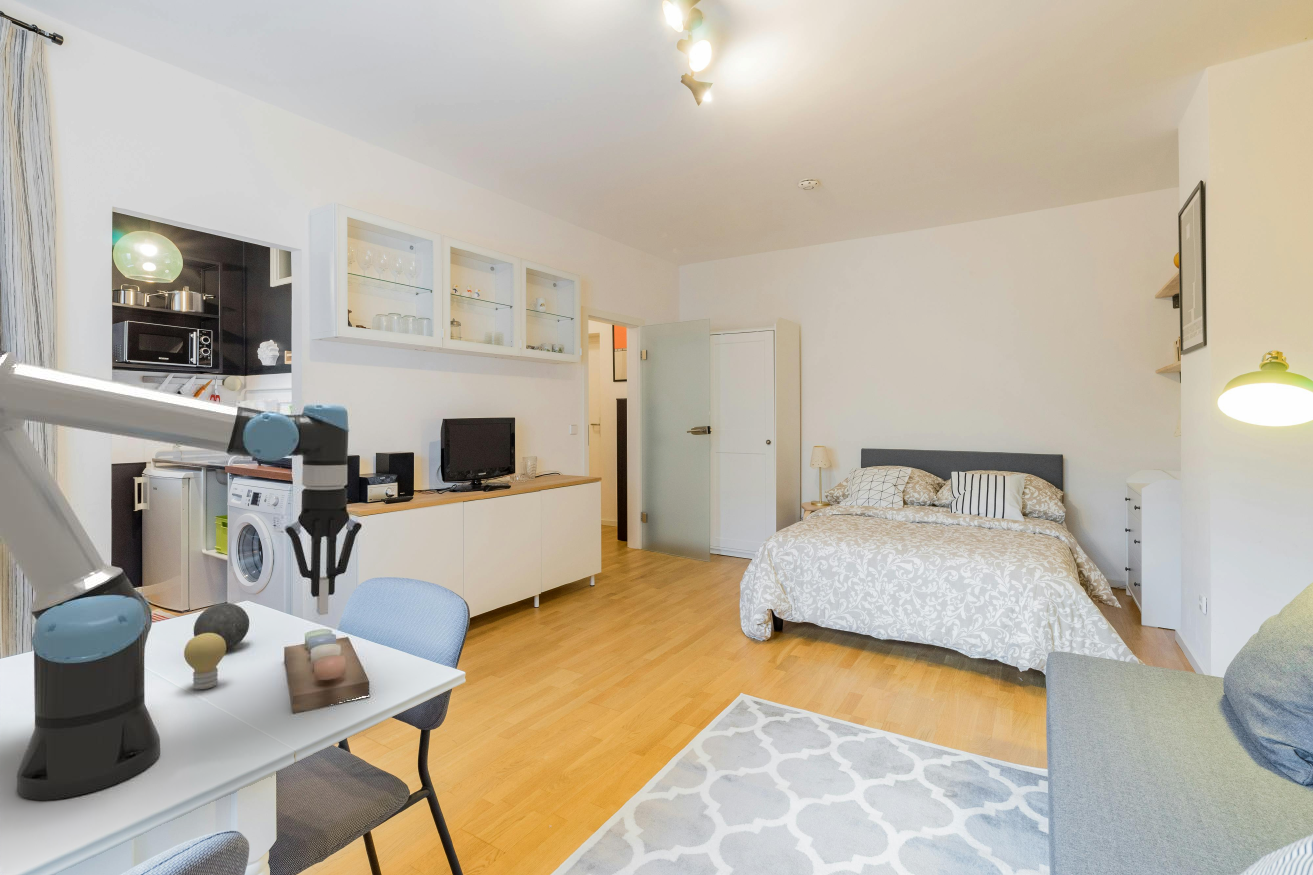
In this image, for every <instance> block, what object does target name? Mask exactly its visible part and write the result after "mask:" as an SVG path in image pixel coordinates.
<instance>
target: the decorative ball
mask: <svg viewBox="0 0 1313 875" xmlns="http://www.w3.org/2000/svg"><path fill="white" fill-rule="evenodd" d="M249 629H250V618H249V615H248V613H247V611H245V609H244V608H242V606H240V605H238V604H234V603H231V602H230V603H228V602H223V603H222V602H221V603H218V604H214V605H210V606H209V607H208V608H206V609H205V610H204V611H203V612H202V613H200V614H199V616H198V617H197V618H196V621H195V622H194V625H193V638H194V637H195V636H197V635H200V634H204V633H214V634H218V635H220V636H221V637H222V638H223V639H224V640H225V643H226V651H227V650H230V649H232V648H233V647H235V646H237V645H239V643H242V641H243V640H244V638H246V635H248V634H247V633H248V632H249Z"/></svg>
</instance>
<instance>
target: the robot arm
mask: <svg viewBox="0 0 1313 875" xmlns="http://www.w3.org/2000/svg"><path fill="white" fill-rule="evenodd" d="M302 410H303V411H302V412H301V414H283V413H279V412H276V411H266V410H265V411H264V410H261V409H255V408H250V407H246V406H245V407H244V406H238V405H235V404H231V403H225V402H220V401H215V400H211V399H205V398H201V397H196V396H192V395H186V394H180V393H175V392H171V391H165V390H160V389H156V388H149V387H147V386H141V385H136V384H132V383H130V384H129V383H126V382H121V381H115V380H111V379H105V378H101V377H96V376H91V375H87V374H81V373H76V372H71V371H66V370H61V369H56V368H52V367H46V366H41V365H38V364H37V365H36V364H33V363H32V364H31V363H26V362H23V361H21V360H20V359H19V358H18V357H17V356H16V355H15V354H14V353H13V352H11V351H5V350H0V540H1V541H2V542H3V544H4V545H5V547H6V548H7V550H8V552H9V554H11V555H10V556H12V558H13V560H14V561H15V563H16V564H17V566H18V567H19V568H20V570H21V572H22V574H23V575H24V576H25V578H26V580H27V581H28V583H29V584H30V586H31V588H32V590H33V591H34V592H35V598H34V600H33V602H32V603H31V606H30V607H29V611H30V612H31V614H32V615H33V617H34V619H35V620H36V621H35V624H34V630H33V633H32V636H31V645H32V649H33V671H34V672H33V674H34V675H33V677H34V678H33V680H34V682H33V684H34V686H33V687H34V698H33V699H34V730H33V732H32V735H31V737H30V740H29V742H28V745H27V747H26V749H25V752H24V755H23V757H22V760H21V762H20V765H19V768H18V770H17V773H16V792H17V793H18V795H19V796H20V797H23V798H25V799H29V800H37V801H38V800H39V801H46V800H47V801H49V800H50V801H51V800H58V799H66V798H72V797H77V796H81V795H85V794H89V793H93V792H96V791H99V790H103V789H106V788H108V787H111V786H113V785H114V786H115V785H117V784H118V783H121V782H123V781H126V780H128V779H130V778H132V777H134V776H136V775H138V774H140V773H142V772H143V771H145V770H146V769H148V768H149V767H150V766H152V765H153V764H154V763H155V762H156V761H157V760H158V758H159V756H161V755H160V754H161V737H160V734H159V733H158V730H157V727H156V725H155V724H154V722H153V719H152V717H151V715H150V712H149V710H148V707H147V706H146V703H145V701H146V700H145V698H146V697H145V696H146V695H145V689H146V688H145V652H146V651H145V650H146V644H147V640H148V637H149V633H150V631H151V628H152V624H153V614H152V608H151V605H150V603H149V601H148V600H147V598H146V597H145V596H144V595H143V594H142V593H141V592H139V591H138V590H137V589H135V588H134V586H133V584H132V583H131V581H130V579H129V578H128V577H127V574H126V573H125V572H124V570H123V569H122V567H119V566H118V567H117V566H113V565H110V564H107V563H105V561H104V560H103V558H102V557H101V555H100V553H99V552H98V550H97V548H96V547H95V545H94V543H93V542H92V540H91V539H90V536H89V535H88V533H87V532H86V530H85V527H84V526H83V525H82V523H81V522H80V520H79V519H78V516H77V515H76V513H75V510H73V509H72V506H71V505H70V503H69V501H68V500H67V498H66V497H65V495H64V493H63V492H62V490H61V488H60V487H59V485H58V483H57V481H56V480H55V478H54V476H53V475H52V473H51V472H50V470H49V468H48V467H47V465H46V463H45V461H44V460H43V458H42V457H41V455H40V453H39V452H38V450H37V448H36V446H35V445H34V443H33V442H32V440H31V438H30V437H29V435H28V433H27V432H26V430H25V428H24V423H25V421H30V422H34V423H35V422H36V423H42V424H47V425H53V426H60V427H66V428H71V429H72V428H73V429H80V430H85V431H90V432H97V433H104V434H110V435H116V436H122V437H128V438H134V439H135V438H136V439H140V440H147V441H148V440H149V441H153V442H159V443H160V442H161V443H165V444H166V443H167V444H173V445H177V446H178V445H179V446H184V447H192V448H196V449H197V448H198V449H203V450H209V451H215V452H221V453H226V454H227V455H229V456H236V457H237V456H238V457H239V456H240V457H247V458H249V457H250V458H255V459H256V458H257V459H258V460H260V461H268V462H269V461H270V462H277V461H280V460H282V459H283V458H286V457H287V456H293V457H294V456H296V457H297V456H302V463H301V464H302V473H301V474H302V476H301V477H302V480H301V485H302V486H304V487H305V488H303V489H302V490H301V511H300V513H299V516H298V518H297V521H295V522H293V523H291V524H290V525H286V526H285V527H284V531H285V533H286V534H287V535H288V537H289V538H290V541H291V544H292V548H293V552H294V555H295V558H296V562H297V567H298V569H299V570H298V571H299V574H300V575H301V577H302V578H307V579H310V594H311V596H312V598H316V613H317V614H318V616H323V615H328V614H329V596H331V595H335V592H336V591H335V590H336V588H335V586H336V584H335V583H336V582H335V581H336V578H337V577H338V576H339V575H343V574H345V573H346V572H347V569H348V565H349V562H350V558H351V554H352V550H353V546H354V542H355V539H356V536H357V534H358V533H359V532H360V530H361V528H362V523H360V522H359V521H356V520H353V519H351V518H350V514H349V513H348V509H347V508H348V505H347V504H348V489H347V488H346V487H345V486H346V485H348V456H349V455H348V454H349V453H348V452H349V451H348V450H349V432H350V429H349V419H348V417H349V414H348V410H347V409H346V407H344V406H343V405H335V404H334V405H330V404H305V405H304V407H303V409H302ZM345 526H346V530H347V531H346V533H345V537H344V541H343V544H342V548H341V552H340V555H339V559H338V563H336V561H337V560H336V559H337V558H336V557H337V540H338V539H337V538H338V537H337V535H338V534H340V532H341V530H343V528H344V527H345ZM301 527H302V528H303V529H304V531H305V532H307V534H308V535H309V536H310V542H311V543H310V544H311V545H310V546H311V547H310V553H311V554H310V569H309V567H308V563H307V561H306V560H307V559H306V555H305V552H304V549H303V545H302V540H301V538H300V534H301V532H302V530H301ZM323 537H324V538H326V554H325V555H326V556H325V558H326V559H325V560H326V561H325V567H326V568H325V570H326V571H325V573H326V576H321V550H322V547H321V546H322V538H323ZM336 564H337V566H336Z"/></svg>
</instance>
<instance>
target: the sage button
mask: <svg viewBox="0 0 1313 875" xmlns="http://www.w3.org/2000/svg"><path fill="white" fill-rule="evenodd" d="M319 634H333V630H332V629H329V628H328V629H327V628H323V629H314V630H310V631H307V632H306V633H304V644H305V648H306V649H308V638H310V637H312V636H315V635H319Z"/></svg>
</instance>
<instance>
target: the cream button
mask: <svg viewBox="0 0 1313 875" xmlns="http://www.w3.org/2000/svg"><path fill="white" fill-rule="evenodd" d="M330 655H341V646H340V645H338V644H324V645H319V646H316V647H314V648H312V649H311V666H314V661H315V660H317V659H319V658H321V657H325V656H330Z"/></svg>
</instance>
